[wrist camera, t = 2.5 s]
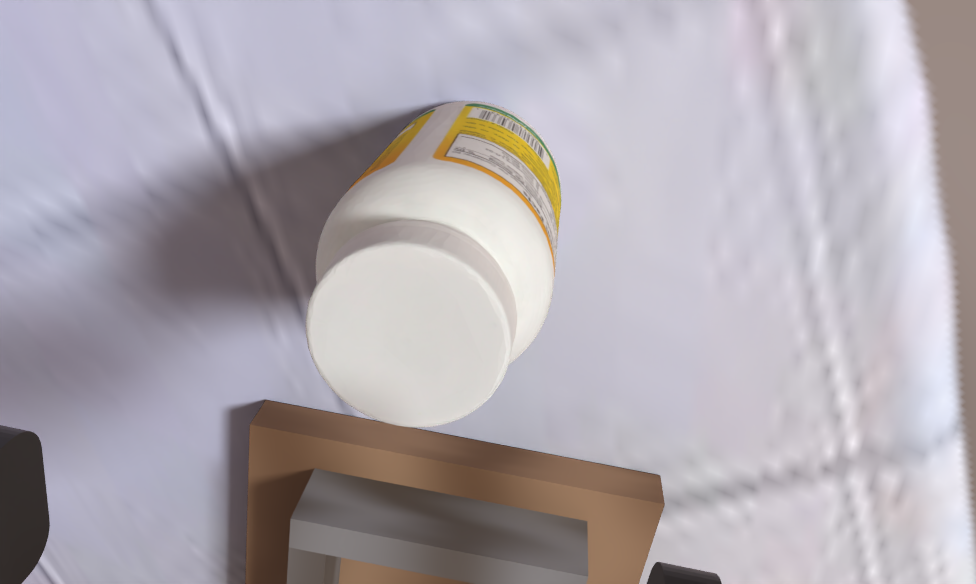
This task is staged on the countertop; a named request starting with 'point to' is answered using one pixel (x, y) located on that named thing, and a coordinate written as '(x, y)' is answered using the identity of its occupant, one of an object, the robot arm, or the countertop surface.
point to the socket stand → (434, 508)
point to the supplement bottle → (437, 266)
